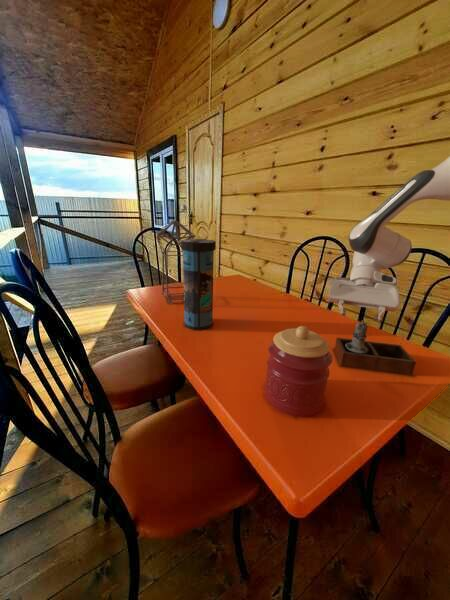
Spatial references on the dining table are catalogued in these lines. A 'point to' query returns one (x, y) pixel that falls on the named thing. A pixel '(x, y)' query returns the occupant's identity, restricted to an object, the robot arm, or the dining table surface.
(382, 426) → the dining table surface
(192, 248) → the advertising column
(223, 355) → the dining table surface
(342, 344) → the holder
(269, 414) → the dining table surface
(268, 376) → the kitchen canister
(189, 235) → the geometric lantern
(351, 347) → the grey stone statuette
